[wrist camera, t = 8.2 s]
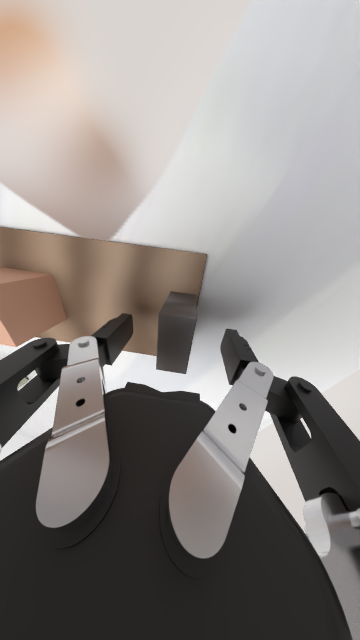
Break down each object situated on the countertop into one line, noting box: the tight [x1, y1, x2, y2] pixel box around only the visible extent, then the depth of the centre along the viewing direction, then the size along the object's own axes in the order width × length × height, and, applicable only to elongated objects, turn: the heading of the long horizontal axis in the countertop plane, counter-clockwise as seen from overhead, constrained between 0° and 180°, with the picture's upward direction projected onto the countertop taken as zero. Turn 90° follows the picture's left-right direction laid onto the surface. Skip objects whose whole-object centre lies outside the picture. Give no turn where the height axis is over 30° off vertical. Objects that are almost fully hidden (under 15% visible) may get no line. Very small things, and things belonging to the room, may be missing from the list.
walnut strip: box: [0, 227, 207, 374], centre depth 12 cm, size 24×12×6 cm, turn 83°
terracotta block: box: [0, 268, 67, 347], centre depth 12 cm, size 5×5×5 cm
